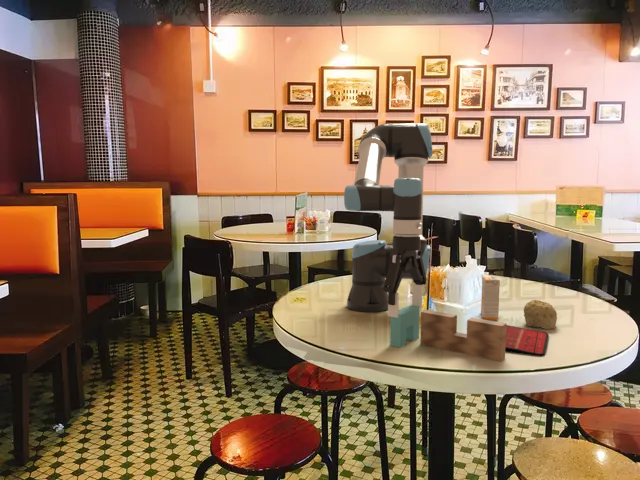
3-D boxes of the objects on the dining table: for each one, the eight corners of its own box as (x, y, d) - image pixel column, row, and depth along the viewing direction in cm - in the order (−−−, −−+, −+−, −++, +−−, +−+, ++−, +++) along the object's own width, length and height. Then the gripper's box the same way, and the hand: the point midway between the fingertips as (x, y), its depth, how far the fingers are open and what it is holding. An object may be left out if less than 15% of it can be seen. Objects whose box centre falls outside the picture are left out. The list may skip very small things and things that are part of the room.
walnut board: (420, 343, 141) (421, 311, 140) (425, 341, 143) (426, 309, 142) (501, 361, 127) (502, 326, 126) (505, 358, 130) (506, 323, 129)
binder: (480, 341, 137) (492, 321, 156) (480, 349, 137) (491, 329, 156) (545, 352, 130) (549, 330, 149) (545, 361, 130) (548, 338, 149)
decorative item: (555, 337, 158) (554, 307, 163) (559, 325, 150) (558, 294, 155) (522, 335, 161) (522, 305, 166) (524, 323, 153) (524, 293, 158)
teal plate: (400, 347, 138) (400, 314, 137) (390, 345, 140) (390, 313, 139) (418, 337, 147) (419, 306, 145) (409, 335, 148) (410, 305, 147)
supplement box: (498, 320, 164) (500, 280, 162) (483, 319, 164) (484, 279, 163) (495, 313, 172) (497, 275, 170) (480, 312, 173) (481, 274, 171)
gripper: (396, 239, 127) (394, 323, 130) (439, 232, 147) (437, 305, 149) (370, 237, 132) (369, 318, 134) (415, 231, 152) (414, 301, 154)
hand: (405, 311), depth 142 cm, fingers open, 13 cm apart
